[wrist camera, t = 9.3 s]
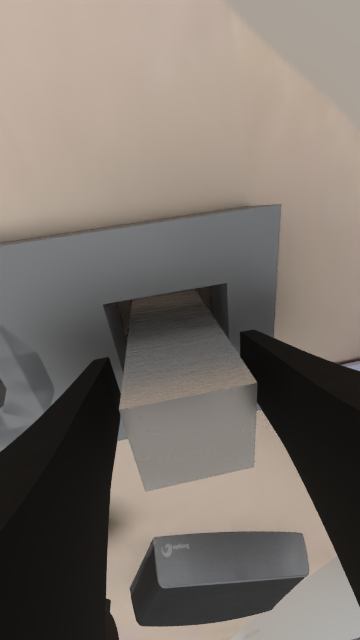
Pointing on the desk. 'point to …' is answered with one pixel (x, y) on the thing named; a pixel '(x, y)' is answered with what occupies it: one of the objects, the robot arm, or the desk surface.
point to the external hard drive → (216, 576)
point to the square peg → (185, 393)
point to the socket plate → (121, 296)
